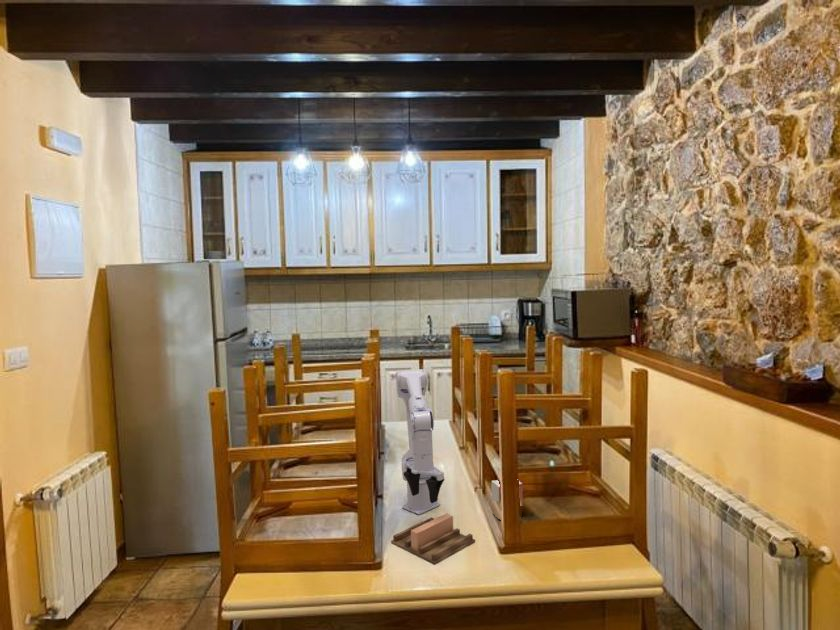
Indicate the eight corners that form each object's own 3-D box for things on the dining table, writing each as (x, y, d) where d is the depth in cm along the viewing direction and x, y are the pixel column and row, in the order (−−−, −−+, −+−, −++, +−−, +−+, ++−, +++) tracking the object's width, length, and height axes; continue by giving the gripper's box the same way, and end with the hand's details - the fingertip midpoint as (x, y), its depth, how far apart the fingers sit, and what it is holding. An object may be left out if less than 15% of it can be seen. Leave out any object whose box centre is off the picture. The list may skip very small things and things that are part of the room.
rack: (431, 523, 168) (431, 516, 168) (475, 541, 156) (475, 534, 156) (391, 542, 157) (390, 535, 157) (434, 564, 145) (434, 556, 145)
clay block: (447, 530, 162) (446, 513, 162) (453, 532, 161) (452, 515, 160) (411, 548, 153) (410, 530, 152) (417, 551, 151) (417, 533, 150)
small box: (498, 521, 168) (498, 487, 167) (491, 513, 173) (490, 480, 172) (523, 517, 170) (522, 483, 169) (515, 509, 175) (514, 476, 174)
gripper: (395, 450, 165) (397, 495, 166) (430, 461, 154) (432, 509, 156) (413, 444, 170) (414, 488, 171) (448, 455, 159) (450, 501, 161)
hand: (424, 498), depth 164 cm, fingers open, 7 cm apart
